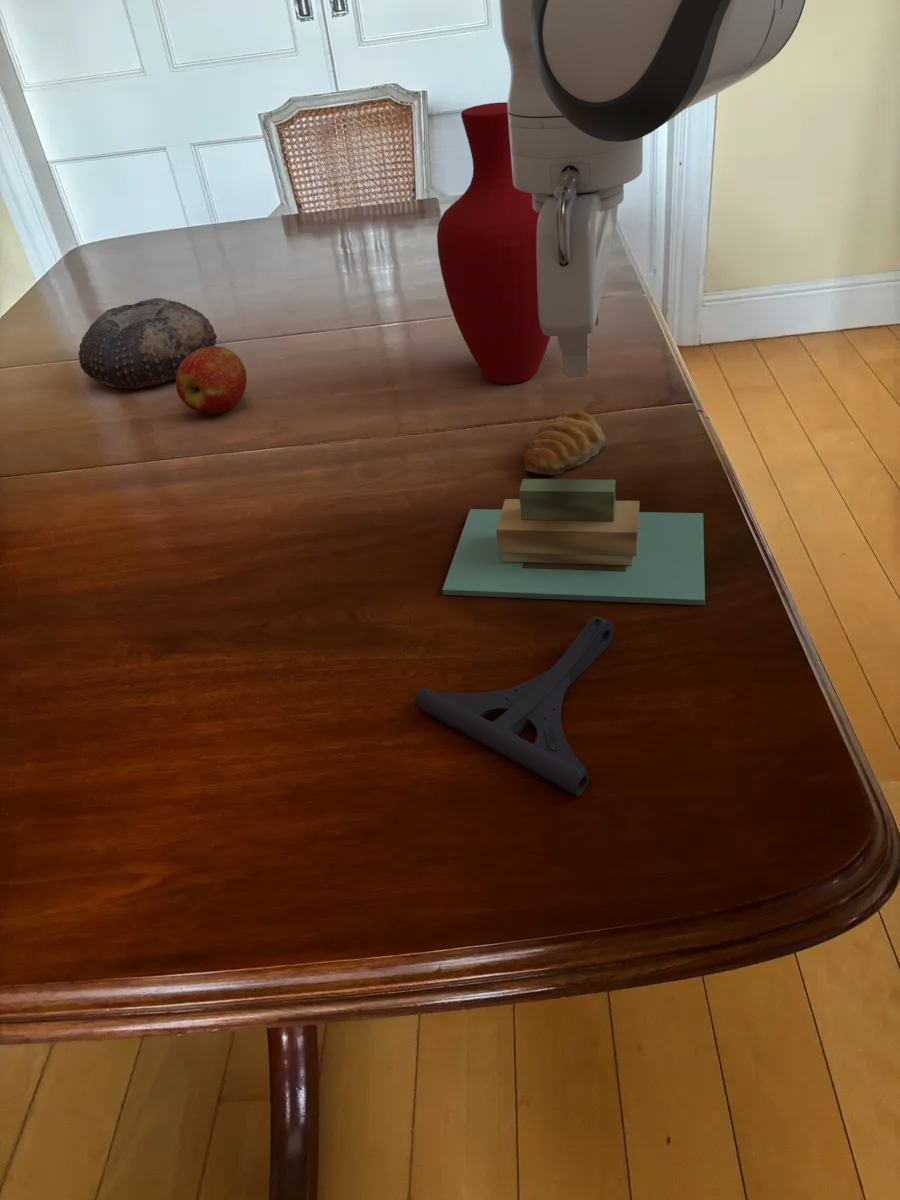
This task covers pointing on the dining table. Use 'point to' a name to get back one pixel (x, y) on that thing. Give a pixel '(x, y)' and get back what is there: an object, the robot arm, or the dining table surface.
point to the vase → (493, 256)
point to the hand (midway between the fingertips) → (582, 347)
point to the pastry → (564, 444)
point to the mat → (587, 566)
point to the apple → (211, 380)
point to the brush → (568, 523)
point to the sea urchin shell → (143, 342)
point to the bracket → (527, 712)
